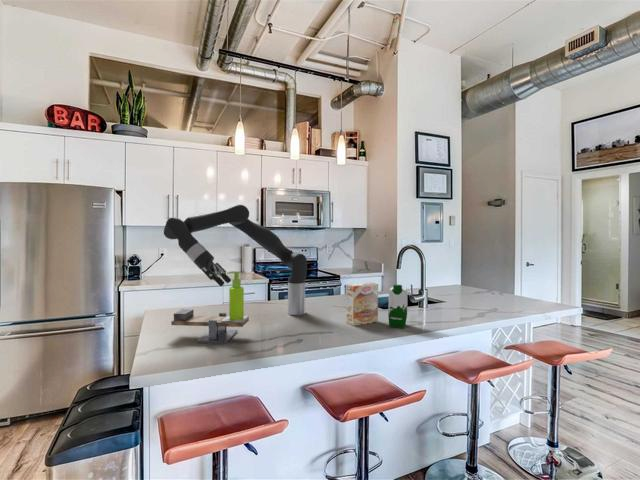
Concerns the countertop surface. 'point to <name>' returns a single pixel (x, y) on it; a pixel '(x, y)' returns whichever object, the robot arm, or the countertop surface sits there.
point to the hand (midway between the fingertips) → (226, 283)
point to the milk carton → (397, 306)
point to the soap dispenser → (236, 298)
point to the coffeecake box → (361, 303)
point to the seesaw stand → (217, 333)
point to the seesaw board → (205, 319)
